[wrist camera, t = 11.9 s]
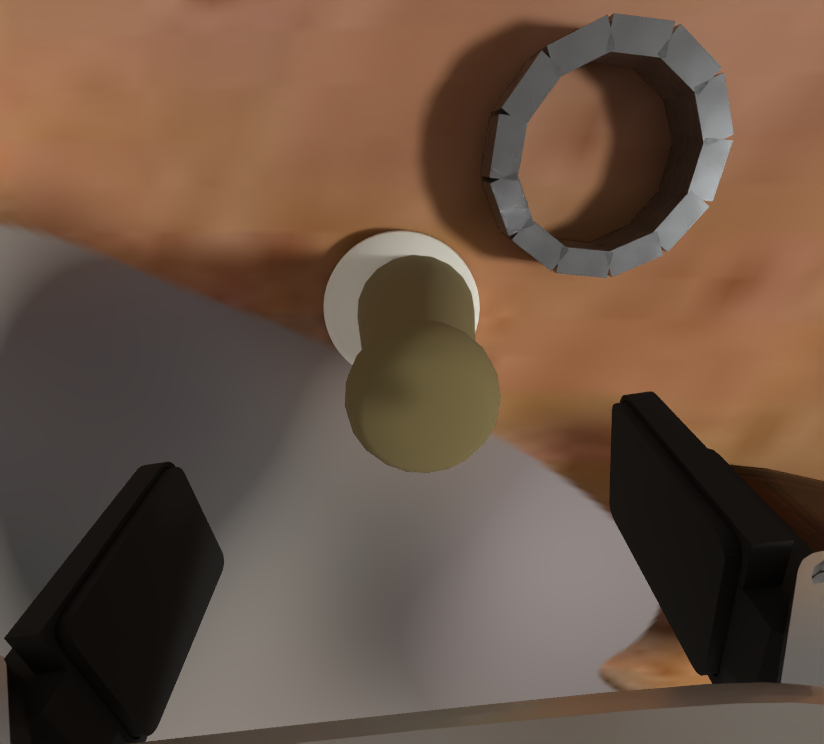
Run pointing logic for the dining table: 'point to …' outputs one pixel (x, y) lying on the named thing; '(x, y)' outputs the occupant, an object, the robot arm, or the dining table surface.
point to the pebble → (360, 268)
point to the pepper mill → (791, 501)
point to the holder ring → (689, 125)
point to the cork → (420, 368)
